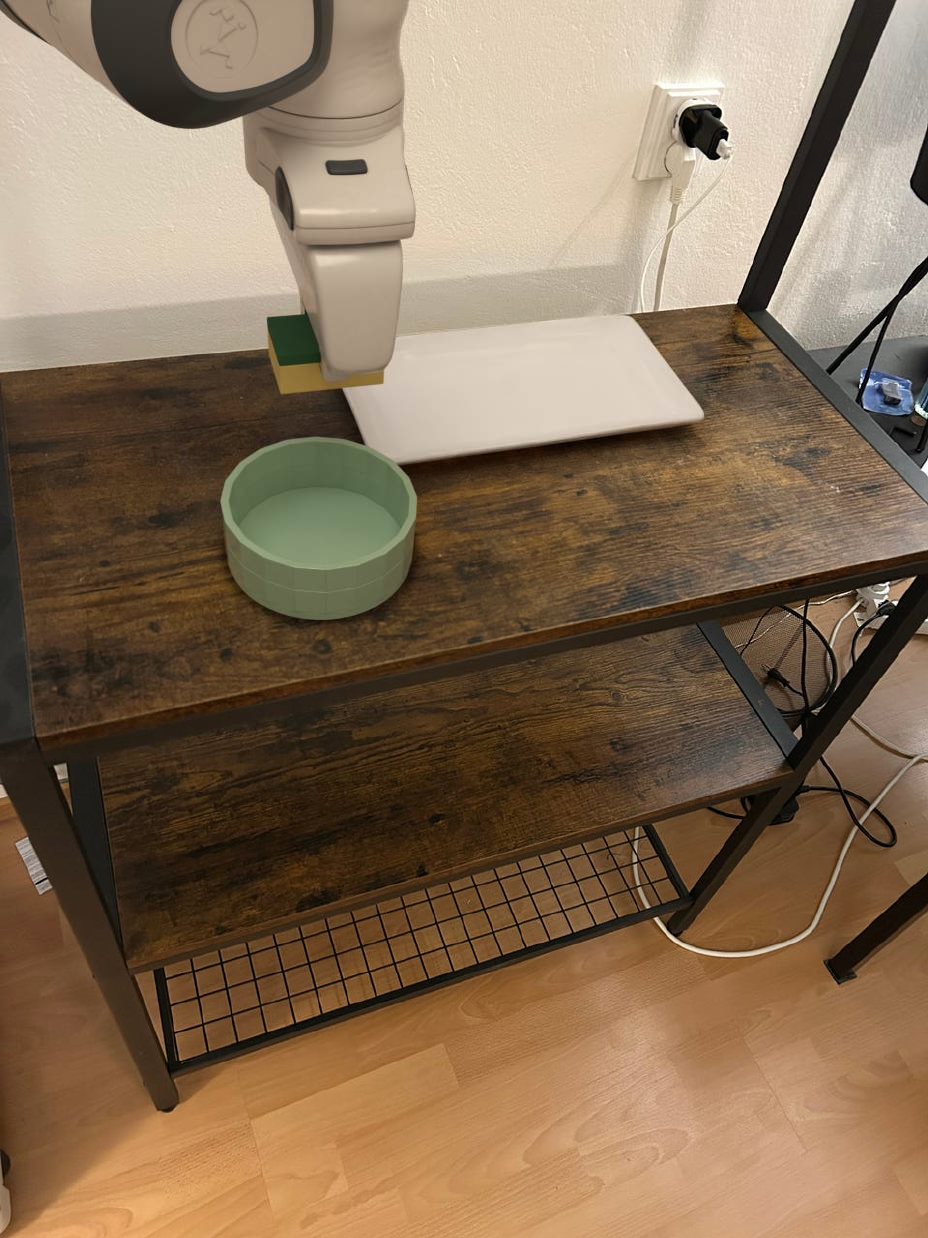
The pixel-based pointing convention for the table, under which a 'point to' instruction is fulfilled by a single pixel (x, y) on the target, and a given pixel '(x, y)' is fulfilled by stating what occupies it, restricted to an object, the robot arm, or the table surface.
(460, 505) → the table surface
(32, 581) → the table surface
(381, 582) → the bowl
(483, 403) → the tray
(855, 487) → the table surface
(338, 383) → the sponge
